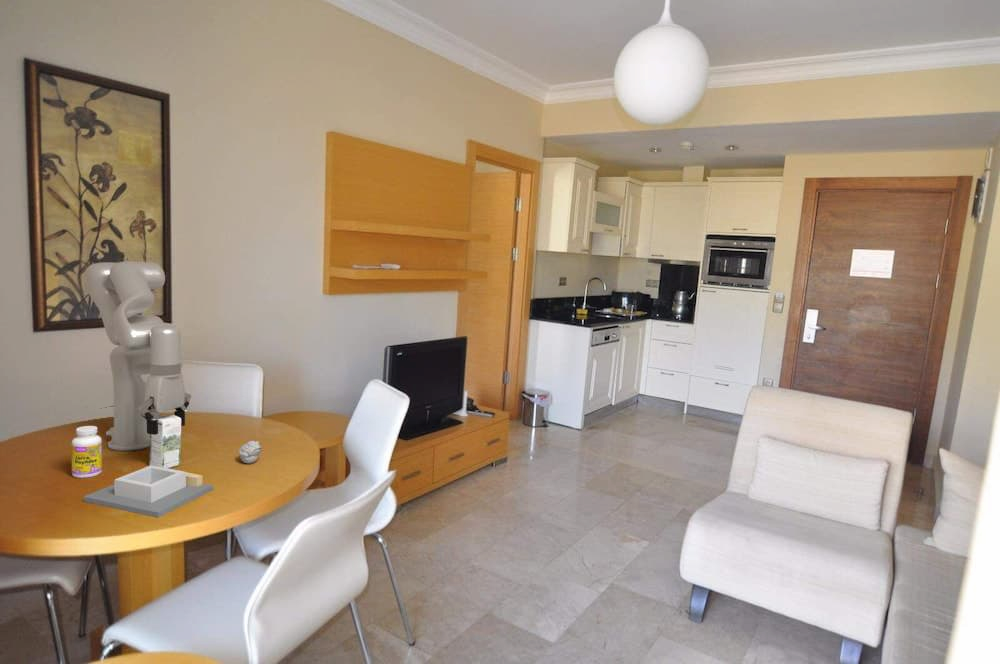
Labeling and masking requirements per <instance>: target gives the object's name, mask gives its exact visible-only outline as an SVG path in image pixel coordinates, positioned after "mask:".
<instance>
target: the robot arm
mask: <svg viewBox="0 0 1000 664" xmlns="http://www.w3.org/2000/svg"><path fill="white" fill-rule="evenodd" d="M84 282H85V287H86V290H87V293H88V295H89V297H90V298H91V300H92V301H93V303H94V304H95V306H96V307H97V309H98V311H99V313H100V317H101V319H102V323H103V327H104V330H105V333H106V336H107V338H108V340H109V342H110V343H111V344H113V345H115V346H116V347H114V349H112V350H111V352H110V354H109V365H110V369H111V375H112V383H113V384H112V385H113V386H112V387H113V426H112V427H110V428H109V430H107V431H106V432H105V435H106V436H109V437H111V439H110V440H109V441H108V442H107V448H109V449H111V450H114V451H123V452H124V451H125V452H126V451H136V450H142V449H147V448H150V434H153V435H156V434H158V420H156V418H157V417H158V416H160V413H163V412H168V411H172V410H175V411H174V414H173V415H175V416H177V417H180V418H181V427H182V426H183V427H184V426H186V412H187V411H188V409H187V408H188V407H189V405H190V401H191V398H192V395H191V394H189V393H187V392H185V381H184V376H183V373H182V367H183V366H182V331H181V329H180V328H179V327H178V326H174V325H172V324H171V323H169V322H164V320H162V318H160V317H159V316H158V315H155V314H154V315H153V314H141V313H143V312H145V311H146V312H147V310H149V309H150V308H151V307H152V306H153V305H154V302H155V296H154V293H153V292H152V290H159V289H161V288H162V287H164V285H165V282H166V274H165V271H164V269H163V268H162V266H161V265H160V264H158V263H156V262H153V261H151V262H150V261H133V260H131V261H129V260H128V261H125V260H123V261H119V262H110V261H109V262H107V261H106V262H96V263H92V264H90V265H88V266H87V268H86V269H85V272H84ZM145 375H149V376H147V379H146V381H145V380H144V379H143V378H142V376H145Z"/></svg>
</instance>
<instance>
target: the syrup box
mask: <svg viewBox="0 0 1000 664" xmlns="http://www.w3.org/2000/svg"><path fill="white" fill-rule="evenodd" d="M156 420H158V434H156V435H153V434H150V447H149V463H148V464H149V465H148V466H150V465H153V466H158V467H163V468H168V469H173V468H176V467H178V466H180V465H181V453H182V452H181V447H182V445H181V444H182V426H181V418H180V417H177V416H175V415H174V414H163V415H158V417H157V418H156Z"/></svg>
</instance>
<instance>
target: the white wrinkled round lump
mask: <svg viewBox="0 0 1000 664" xmlns="http://www.w3.org/2000/svg"><path fill="white" fill-rule="evenodd" d="M262 450H263V448H262V446H261V445H260V442H259V441H258V440H256V441H255V440H249V441H247V442H246V443H245V444H242V445H241V446H240V447H239V450H238V456H239V458H240V459H241V461H242V462H243V463H244V464H253V463H254V462H256V461H257V460H258V458H259V456H260V453H261V452H262Z"/></svg>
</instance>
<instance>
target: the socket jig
mask: <svg viewBox="0 0 1000 664" xmlns="http://www.w3.org/2000/svg"><path fill="white" fill-rule="evenodd" d="M113 482H114V484H111V485H109V486H107V487H104V488H101V489H99V490H96V491H94V492H92V493H89V494H86V495H85V496H83V502H85V503H89V504H95V505H99V506H104V507H108V508H114V509H118V510H122V511H127V512H131V513H137V514H142V515H144V516H151V517H153V518H154V517H155V518H160V517H162V516H164V515H166V514H168V513H170V512H172V511H174V510H176V509H178V508H180V507H182V506H184V505H186V504H188V503H190V502H191V501H194V500H195V499H198V498H199V497H201V496H204V495H206V494H207V493H209V492H211V491H214V485H213V484H208V483H204V482H203V475H201V474H197V473H191V472H188V471H187V472H186V471H185V470H184V471H183V470H178V469H173V468H169V469H168V468H163V467H158V466H153V465H150V466H149V465H147V466H145V467H144V468H141V469H138V470H136V471H133V472H130V473H127V474H125V475H122V476H120V477H118V478H115V479H114V481H113Z"/></svg>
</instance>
